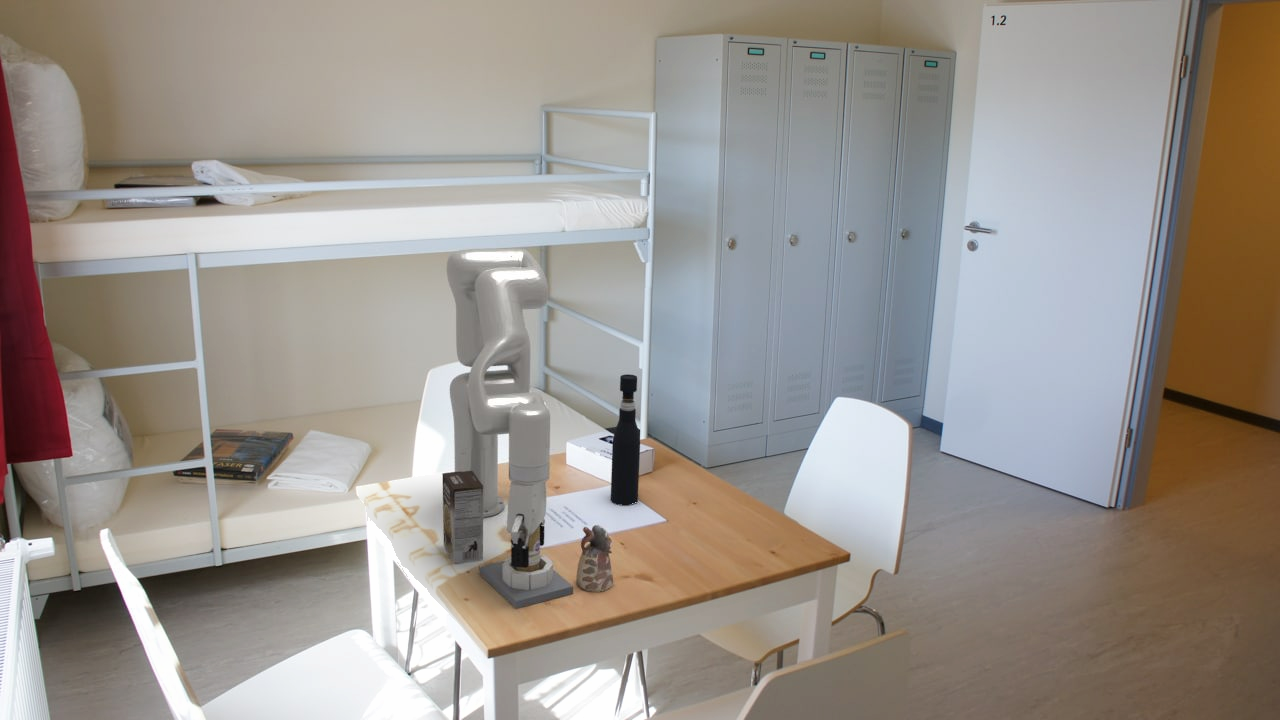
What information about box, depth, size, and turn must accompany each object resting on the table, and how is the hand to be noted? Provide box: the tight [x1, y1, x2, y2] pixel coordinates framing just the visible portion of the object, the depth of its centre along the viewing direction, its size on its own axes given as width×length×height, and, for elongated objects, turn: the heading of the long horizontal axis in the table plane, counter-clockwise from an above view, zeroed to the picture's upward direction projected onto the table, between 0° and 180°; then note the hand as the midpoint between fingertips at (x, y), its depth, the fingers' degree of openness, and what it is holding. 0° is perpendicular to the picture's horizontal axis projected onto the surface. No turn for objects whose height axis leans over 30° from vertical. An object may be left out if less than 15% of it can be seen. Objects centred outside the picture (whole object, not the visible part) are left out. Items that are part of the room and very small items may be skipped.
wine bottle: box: [610, 374, 641, 506], centre depth 231 cm, size 6×6×30 cm
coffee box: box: [441, 471, 484, 565], centre depth 202 cm, size 9×6×16 cm
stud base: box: [478, 554, 574, 609], centre depth 192 cm, size 16×12×4 cm
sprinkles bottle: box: [517, 520, 541, 572], centre depth 190 cm, size 5×5×13 cm
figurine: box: [576, 524, 614, 593], centre depth 192 cm, size 7×7×12 cm
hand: (528, 555), depth 190 cm, fingers open, 9 cm apart
